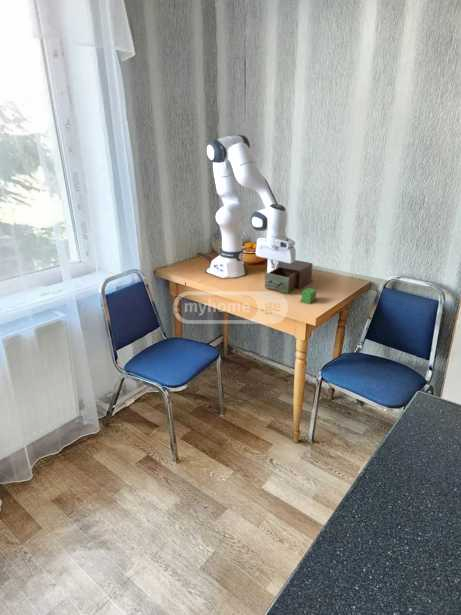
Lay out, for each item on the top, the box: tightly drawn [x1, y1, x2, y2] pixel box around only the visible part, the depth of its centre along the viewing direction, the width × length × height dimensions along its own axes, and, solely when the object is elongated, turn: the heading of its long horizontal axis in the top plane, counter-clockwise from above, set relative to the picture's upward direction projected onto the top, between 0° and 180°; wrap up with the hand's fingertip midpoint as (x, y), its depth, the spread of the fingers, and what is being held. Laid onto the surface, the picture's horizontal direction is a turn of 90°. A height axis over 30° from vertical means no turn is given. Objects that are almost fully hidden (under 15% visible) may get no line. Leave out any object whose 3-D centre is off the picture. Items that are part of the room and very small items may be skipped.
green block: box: [301, 287, 317, 304], centre depth 188 cm, size 6×4×5 cm
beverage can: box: [266, 259, 281, 273], centre depth 218 cm, size 8×8×12 cm
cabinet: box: [278, 259, 313, 289], centre depth 210 cm, size 15×15×10 cm
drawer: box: [264, 268, 298, 294], centre depth 200 cm, size 18×13×8 cm
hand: (274, 268), depth 191 cm, fingers closed
